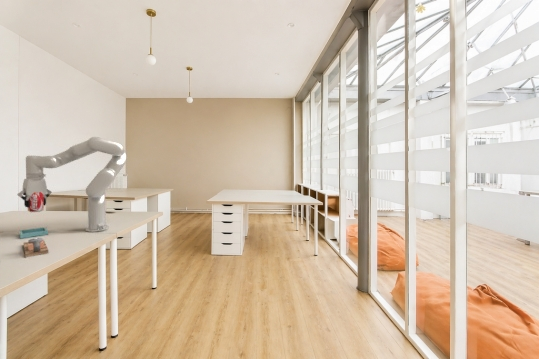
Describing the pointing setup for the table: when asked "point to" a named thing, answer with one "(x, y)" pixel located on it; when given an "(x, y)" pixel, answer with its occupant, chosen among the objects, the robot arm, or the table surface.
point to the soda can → (36, 202)
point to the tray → (33, 232)
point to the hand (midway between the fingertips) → (35, 205)
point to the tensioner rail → (30, 252)
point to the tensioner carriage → (30, 242)
